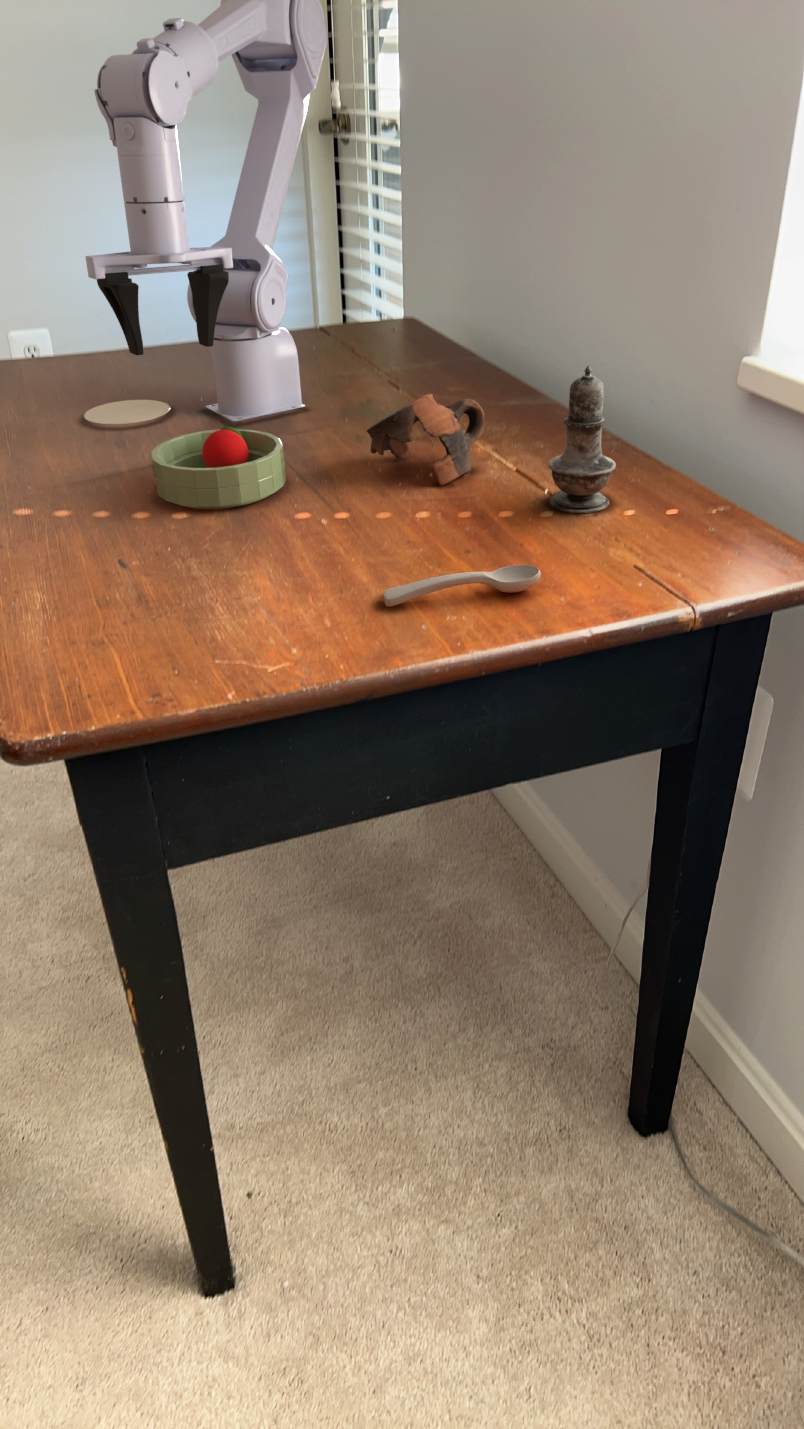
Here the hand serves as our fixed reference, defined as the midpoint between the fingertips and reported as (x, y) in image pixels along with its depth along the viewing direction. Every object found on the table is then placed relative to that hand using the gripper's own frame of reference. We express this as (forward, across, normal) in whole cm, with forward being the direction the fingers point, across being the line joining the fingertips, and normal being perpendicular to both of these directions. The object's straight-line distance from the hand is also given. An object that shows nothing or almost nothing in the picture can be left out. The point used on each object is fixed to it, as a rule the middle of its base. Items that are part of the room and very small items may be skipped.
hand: (172, 349), depth 104 cm
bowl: (+10, -3, -15) cm, 19 cm away
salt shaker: (+10, +21, -39) cm, 46 cm away
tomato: (+9, -2, -15) cm, 17 cm away
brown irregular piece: (+10, +16, -23) cm, 30 cm away
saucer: (+10, -1, +15) cm, 18 cm away
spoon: (+11, +2, -48) cm, 49 cm away
